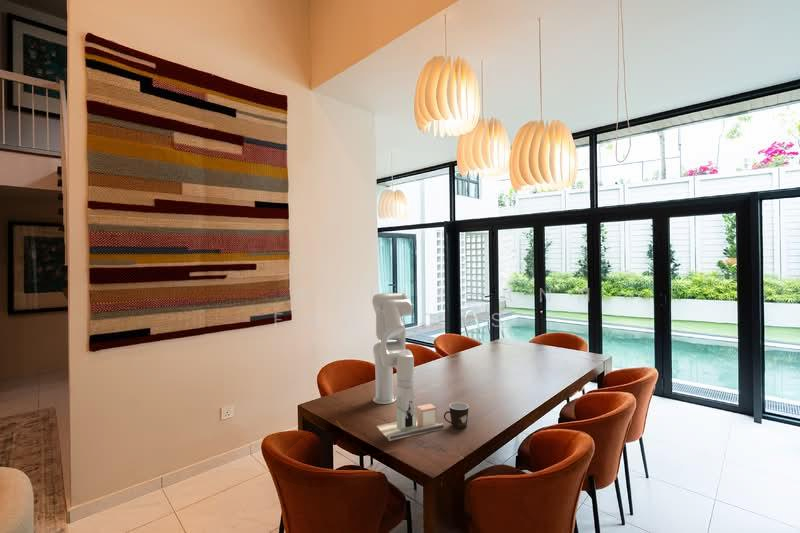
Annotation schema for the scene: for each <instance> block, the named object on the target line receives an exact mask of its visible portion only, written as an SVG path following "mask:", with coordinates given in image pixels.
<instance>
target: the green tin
mask: <svg viewBox="0 0 800 533" xmlns="http://www.w3.org/2000/svg"><path fill="white" fill-rule="evenodd" d="M408 410H410V409H408ZM409 413H410V411H409V412H408V414H409ZM405 418H406V412H404V411H403V410H401V409H400V408H399V407H398V406H397V405H396V422H397V428H398V429H399V430H400V431H401V432H402V431H407V430H412V429H416V418H417V407H415V408H414V414H413V426H411V427H405Z"/></svg>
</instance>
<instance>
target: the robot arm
mask: <svg viewBox="0 0 800 533" xmlns="http://www.w3.org/2000/svg"><path fill="white" fill-rule="evenodd" d="M372 307H373V310H374V312H375V336H376V339H378V340H379V341H380V342H377V343H375V344H374V345H373V347H372V348H373V350H372V352H373V357H374V358H373V359H374V369H375V370H374V371H375V372H374V373H375V396H374V397H373V398H372V401H373V402H374V403H375V404H378V405H389V404H393V403H395V404H396V407H397V406H398V407H399V408H400V409H401V410H403V411H404V412H406V418H405V427H411V426H413V414H414V408H416V406H415V405H416V402H415V390H414V387H415V363H414V362H415V357H414V355H413V353H412V350H410V349H409V348H407V349H406V342H407V341H406V332H407V331H406V326H405V324H404V320H403V317H408V316H411V315H412V314H413V309H414V308H413V304H412V301H411V299H410V298H409V297H408V296H407V295H406V293H403V292H390V293H389V292H386V293H385V292H383V293H376V294H374V295H373V296H372ZM393 368H396V393H395V394H396V395H394V369H393ZM408 409H410V410H408ZM409 411H410V413H409V414H408V412H409Z"/></svg>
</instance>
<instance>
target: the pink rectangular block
mask: <svg viewBox="0 0 800 533" xmlns="http://www.w3.org/2000/svg"><path fill="white" fill-rule="evenodd" d="M416 418H417V426H418V427H419V428H421V427H426V426H431V425H436V423H437V406H435V405H434V404H432V403H428V404H427V403H426V404H422V405H417V406H416Z"/></svg>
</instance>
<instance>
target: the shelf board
mask: <svg viewBox="0 0 800 533" xmlns="http://www.w3.org/2000/svg"><path fill="white" fill-rule="evenodd" d="M376 428H378V430H379V431H380V432H381V433H382V434H383V436H385V438H386V439H387V440H388V441H390V442H391V441H395V440H398V439H403V438H408V437H413V436H417V435H423V434H427V433H433V432H435V431H441V430H445V424H444V423H443V422H441V423H437V422H436V425H431V426H426V427H421V428H419V427H418V426H417V417H416V429H412V430H407V431H402V432H401V431H400V430H399V429H398V428H397V421H394V422H389V423H383V424H379V425H376Z"/></svg>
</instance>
